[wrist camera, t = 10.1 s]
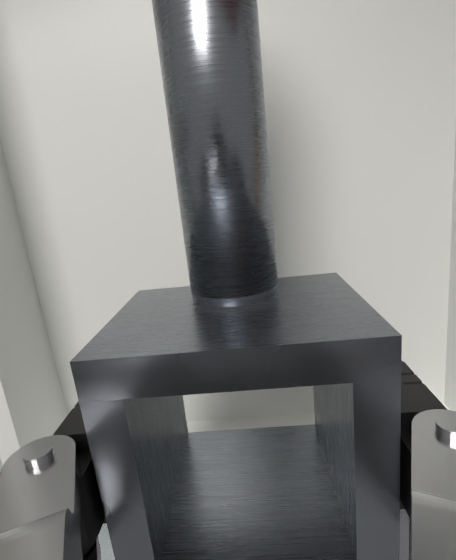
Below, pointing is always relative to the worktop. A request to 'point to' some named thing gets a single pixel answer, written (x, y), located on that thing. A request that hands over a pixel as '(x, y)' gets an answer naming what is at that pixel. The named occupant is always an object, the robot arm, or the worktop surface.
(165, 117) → the bin
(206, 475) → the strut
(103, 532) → the worktop surface
